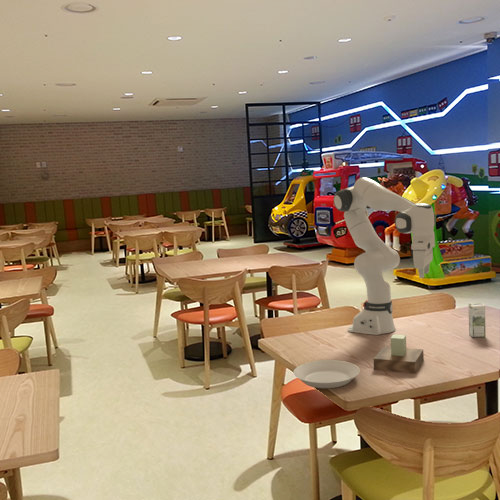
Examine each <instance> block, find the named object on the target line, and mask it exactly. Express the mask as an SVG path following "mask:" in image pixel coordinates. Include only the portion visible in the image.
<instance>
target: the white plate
mask: <svg viewBox="0 0 500 500" xmlns="http://www.w3.org/2000/svg"><path fill="white" fill-rule="evenodd" d="M360 372H361V370H360V367H359V366H357V365H356V364H354V363H352V362H348V361H345V360H338V359H337V360H336V359H335V360H334V359H323V360H321V359H320V360H313V361H309V362H305V363H303V364H299V365H298V366H296V367H295V368H294V370H293V372H292V373H293V375H294V376H295V378H297V379H298V380H300V381H301V382H302V383H303V384H305V385H306V386H308V387H312V388H316V389H335V388H339V387H343V386H346V385H348V384H349V383H351V381H352V380H353V379H354V378H355V377H357V376H358V375H359V374H360Z"/></svg>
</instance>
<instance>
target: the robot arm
mask: <svg viewBox="0 0 500 500" xmlns="http://www.w3.org/2000/svg"><path fill="white" fill-rule="evenodd" d="M333 204H334V207H335V208H336V209H337V210H338V211H339V212H344V213H343V217H344V218H343V219H344V221H345V223H346V224H345V225H346V227H347V229H348V232H349V234H350V236H351V237H352V240H353V242H354V244H355V246H356V247H358V248H360V249H362V250H363V251H365V252H362V253H360V254H359V255H357V256H356V257H355V259H354V262H353V265H354V267H353V268H354V269H355V271H356V273H358V275H360V276H361V277H362V279H363V280H364V283H365V288H366V298H367V299H366V300H365V301H364V302H363V304H362V308H363V309H362V310H361V311H359V312H358V313H357V314H356V315H354V317H353V319H352V324H350V325H349V326H348V329H347V331H348V332H349V333H359V334H364V335H372V336H378V335H382V334H390V333H393V332H394V331H396V329H397V328H396V325H395V323H394V318H393V301H392V299H391V298H392V295H391V285H390V283H388V282H387V281H385V278H384V276H383V273H385V272H390V271H392V270H394V269H396V268H397V267H398V266H399V265H400V262H401V258H400V254H399V253H398V251H397V250H396V249H395V248H392V247H391V246H388V245H387V244H386V243H385V242H384V241H383V240H382V239H381V238H380V237H379V236H378V235H379V234H377V232H376V231H375V228H374V226H373V224H372V222H371V221H370V219H369V217H368V215H367V213H366V211H367V210H366V209H369V210H370V209H373V210H375V211H394V212H395V211H396V212H398V213H397V214H396V216H395V217H394V218H395V219H394V226H395V229H396V231H398V232H399V233H400V234H412V238H411V239H412V241H411V242H412V243H411V245H410V246H411V248H410V249H411V250H412V259H413V260H412V261H413V267H414V269H417V271H418V277H419V279H424V278H425V274H426V275H427V274H429V273H430V265H431V262H432V261H433V259H434V254H433V251H434V250H433V248H435V247H436V246H435V245H436V241H435V239H436V238H435V237H436V234H435V231H434V230H435V229H434V227H435V226H436V222H437V216H436V215H435V212H434V209H433V206H432V205H431V204H429V203H426V202H425V203H424V202H417V203H414V202H413V201H411V200H410V199H408V198H406V197H405V196H402V195H399V194H397V193H395V192H393V191H392V190H390V189H388V188H386V187H385V186H384V185H381V184H380V183H378V182H377V181H376V180H373V179H371V178H369V177H365V176H364V177H360V178H358V179H357V180H356V181H355V182H354V184H353V185H351V186H350V187H349V186H348V187H346V188H344V189H340V190H338V191H337V192H335V194H334V196H333Z"/></svg>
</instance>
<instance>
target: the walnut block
mask: <svg viewBox="0 0 500 500" xmlns="http://www.w3.org/2000/svg"><path fill="white" fill-rule="evenodd" d="M424 358H425V357H424V349H421V348H407V347H406V354H405V355H404V356H396V355H391V346H383V347H382V348H381V349H380V350H379V352H377V354H376V355H375V356H374V357H373V358H372V359H373V370H374V371H381V370H382V371H384V372H394V373H403V374H404V373H406V374H417V373H418V371H419V369H420V367H421V365H422V364H423V362H425V361H424Z"/></svg>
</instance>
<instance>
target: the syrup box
mask: <svg viewBox="0 0 500 500" xmlns="http://www.w3.org/2000/svg"><path fill="white" fill-rule="evenodd" d="M468 333H469V335H470V337H472V338H485V337H487V336H486V335H487V334H486V306H485V305H484V304H483V303H482V302H479V303H468Z"/></svg>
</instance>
